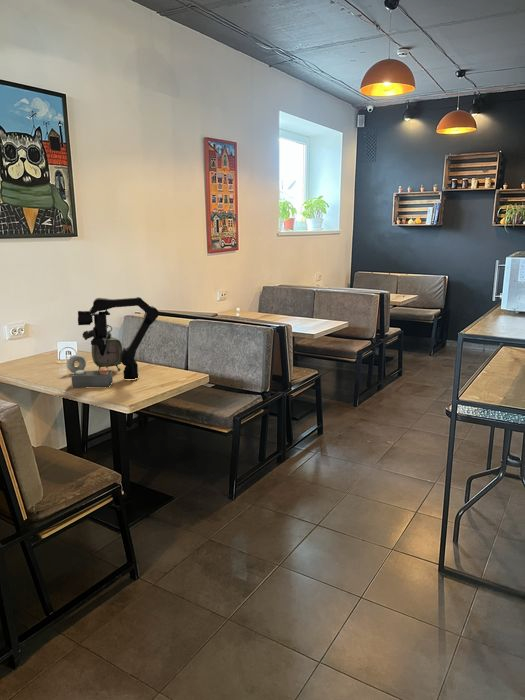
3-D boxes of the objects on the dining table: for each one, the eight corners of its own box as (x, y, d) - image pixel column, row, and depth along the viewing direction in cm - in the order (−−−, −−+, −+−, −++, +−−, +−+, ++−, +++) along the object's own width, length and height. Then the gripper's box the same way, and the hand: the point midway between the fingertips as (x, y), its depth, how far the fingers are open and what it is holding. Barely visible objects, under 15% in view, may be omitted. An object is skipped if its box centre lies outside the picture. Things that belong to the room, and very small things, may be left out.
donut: (70, 375, 263) (68, 356, 261) (66, 374, 266) (65, 355, 264) (87, 371, 271) (86, 353, 269) (84, 370, 273) (83, 352, 271)
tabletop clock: (95, 374, 265) (92, 327, 260) (92, 370, 273) (89, 324, 268) (123, 371, 272) (121, 325, 267) (119, 367, 280) (117, 322, 274)
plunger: (86, 381, 248) (86, 370, 247) (84, 383, 244) (83, 372, 243) (77, 381, 248) (76, 370, 247) (75, 384, 243) (74, 372, 242)
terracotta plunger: (109, 378, 249) (109, 367, 248) (108, 381, 245) (107, 370, 244) (100, 379, 249) (99, 367, 247) (98, 381, 244) (98, 370, 243)
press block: (112, 382, 252) (112, 370, 251) (109, 387, 243) (108, 375, 242) (77, 382, 250) (76, 371, 249) (72, 388, 241) (71, 375, 240)
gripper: (87, 321, 255) (90, 351, 259) (78, 327, 237) (80, 360, 241) (110, 321, 257) (112, 351, 260) (103, 327, 238) (105, 360, 242)
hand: (102, 355), depth 251 cm, fingers closed
